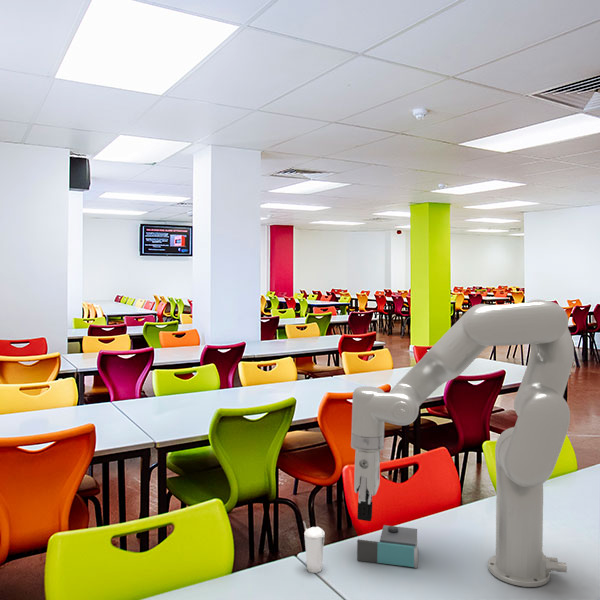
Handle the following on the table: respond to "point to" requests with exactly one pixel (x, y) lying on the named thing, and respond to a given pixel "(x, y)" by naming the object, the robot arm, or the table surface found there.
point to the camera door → (387, 553)
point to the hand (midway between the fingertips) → (364, 518)
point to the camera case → (399, 535)
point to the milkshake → (314, 548)
